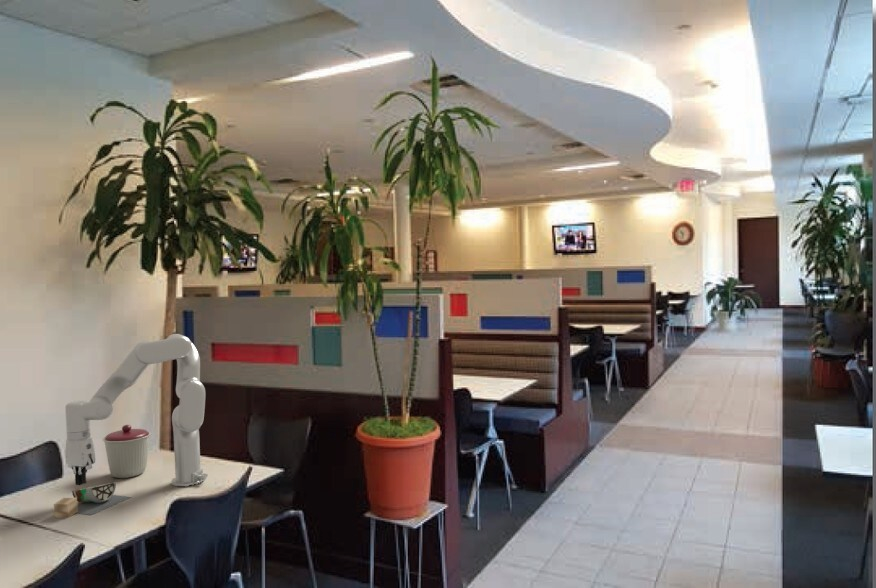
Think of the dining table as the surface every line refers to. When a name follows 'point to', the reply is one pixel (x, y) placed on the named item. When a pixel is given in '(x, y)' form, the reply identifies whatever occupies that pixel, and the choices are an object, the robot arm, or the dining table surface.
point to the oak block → (66, 507)
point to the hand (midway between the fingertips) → (80, 483)
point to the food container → (95, 493)
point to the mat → (100, 505)
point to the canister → (127, 451)
